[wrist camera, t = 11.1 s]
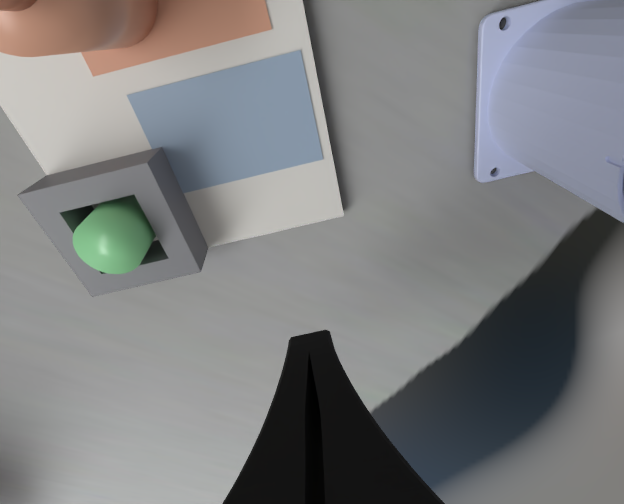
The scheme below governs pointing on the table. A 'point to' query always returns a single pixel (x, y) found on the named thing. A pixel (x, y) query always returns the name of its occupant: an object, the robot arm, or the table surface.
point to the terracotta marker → (73, 25)
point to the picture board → (179, 133)
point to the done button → (114, 236)
